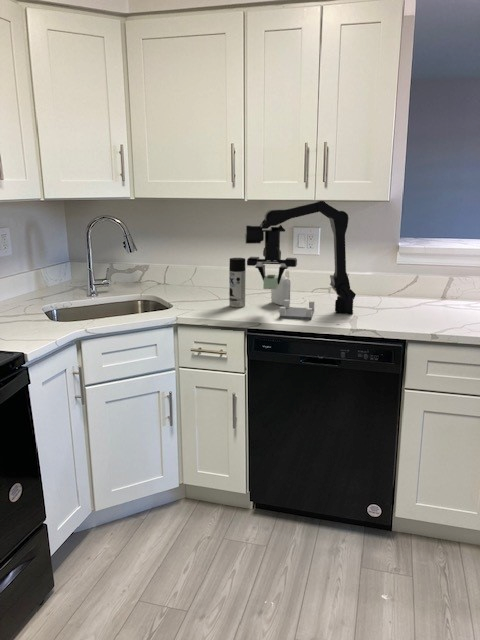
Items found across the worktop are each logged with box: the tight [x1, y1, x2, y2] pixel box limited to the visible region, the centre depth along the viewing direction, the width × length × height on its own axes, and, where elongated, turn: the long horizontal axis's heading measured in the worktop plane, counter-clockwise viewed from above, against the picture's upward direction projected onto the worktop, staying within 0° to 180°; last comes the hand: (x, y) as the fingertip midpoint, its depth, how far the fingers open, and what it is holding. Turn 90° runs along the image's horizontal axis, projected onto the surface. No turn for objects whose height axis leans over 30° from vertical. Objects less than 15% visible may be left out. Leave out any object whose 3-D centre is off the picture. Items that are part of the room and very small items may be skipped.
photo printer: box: [270, 274, 291, 307], centre depth 219 cm, size 10×4×12 cm, turn 29°
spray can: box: [228, 257, 246, 309], centre depth 213 cm, size 7×7×20 cm
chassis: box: [278, 299, 315, 321], centre depth 202 cm, size 12×15×4 cm
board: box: [263, 274, 280, 290], centre depth 200 cm, size 5×9×5 cm, turn 168°
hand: (271, 283), depth 200 cm, fingers closed on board, 5 cm apart
